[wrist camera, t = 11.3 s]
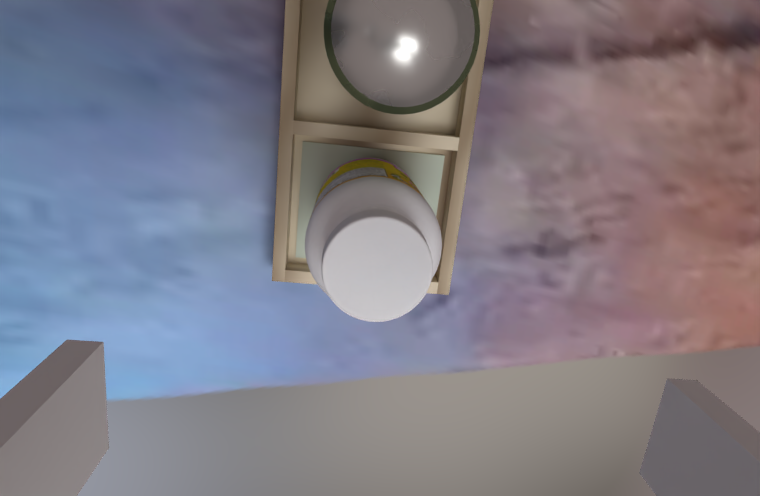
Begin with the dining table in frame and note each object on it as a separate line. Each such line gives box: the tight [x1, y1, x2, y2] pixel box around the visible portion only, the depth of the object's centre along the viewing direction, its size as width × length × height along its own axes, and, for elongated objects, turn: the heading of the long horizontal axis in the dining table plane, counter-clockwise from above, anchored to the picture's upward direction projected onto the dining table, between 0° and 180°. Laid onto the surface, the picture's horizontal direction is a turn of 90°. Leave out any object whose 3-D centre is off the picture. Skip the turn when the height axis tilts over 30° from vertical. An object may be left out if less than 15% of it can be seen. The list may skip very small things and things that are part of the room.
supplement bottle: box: [305, 158, 442, 322], centre depth 28 cm, size 7×7×13 cm
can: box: [324, 0, 480, 115], centre depth 25 cm, size 6×6×12 cm
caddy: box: [272, 0, 494, 295], centre depth 31 cm, size 12×29×2 cm, turn 174°
